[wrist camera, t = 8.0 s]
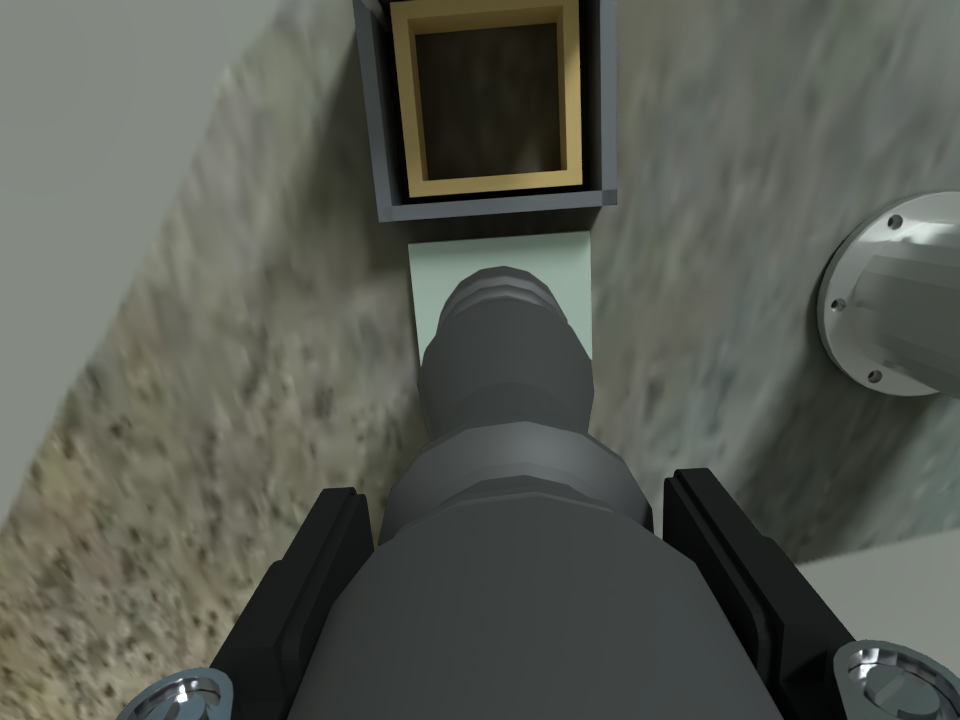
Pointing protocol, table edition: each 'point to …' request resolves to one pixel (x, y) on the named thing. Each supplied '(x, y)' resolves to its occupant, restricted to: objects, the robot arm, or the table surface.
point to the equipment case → (421, 10)
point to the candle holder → (522, 553)
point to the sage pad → (543, 255)
